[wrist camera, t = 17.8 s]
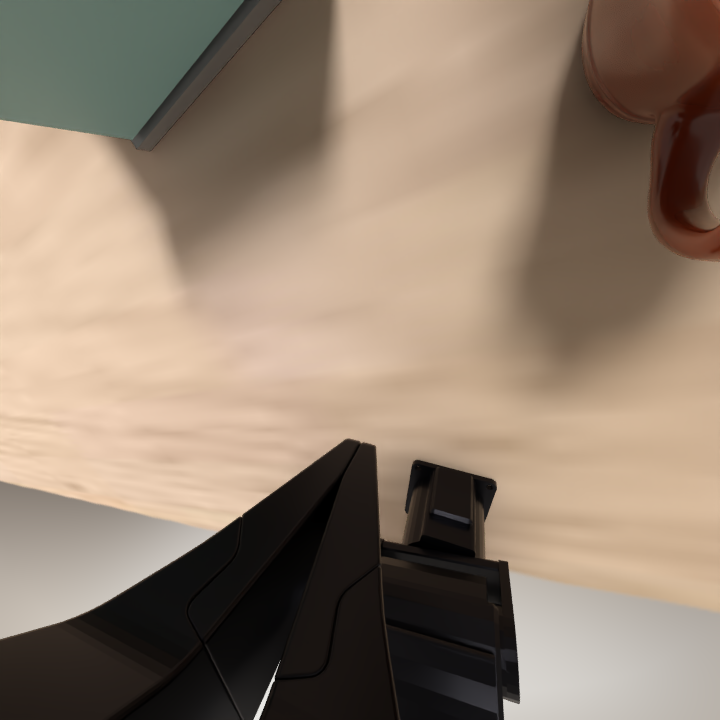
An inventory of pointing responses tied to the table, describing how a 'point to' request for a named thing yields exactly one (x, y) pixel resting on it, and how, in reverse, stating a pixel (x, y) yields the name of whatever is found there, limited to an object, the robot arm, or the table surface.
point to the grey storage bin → (204, 70)
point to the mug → (665, 104)
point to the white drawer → (99, 59)
